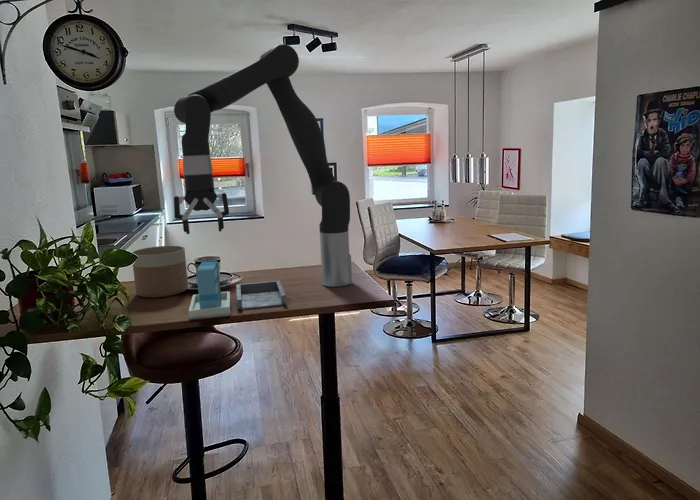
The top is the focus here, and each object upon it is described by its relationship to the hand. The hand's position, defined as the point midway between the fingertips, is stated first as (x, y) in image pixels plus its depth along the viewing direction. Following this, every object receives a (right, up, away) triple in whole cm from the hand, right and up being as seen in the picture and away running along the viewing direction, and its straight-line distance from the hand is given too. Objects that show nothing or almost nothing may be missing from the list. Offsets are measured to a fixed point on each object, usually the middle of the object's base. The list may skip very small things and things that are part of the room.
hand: (204, 232), depth 144 cm
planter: (-20, -19, +25) cm, 37 cm away
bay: (+13, -19, +12) cm, 26 cm away
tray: (+1, -21, +4) cm, 22 cm away
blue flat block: (+1, -21, +4) cm, 21 cm away
